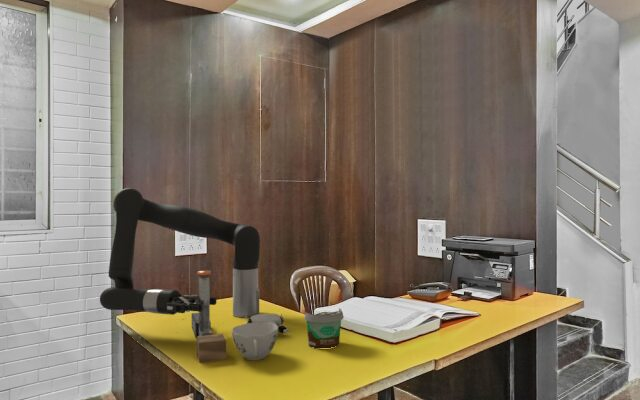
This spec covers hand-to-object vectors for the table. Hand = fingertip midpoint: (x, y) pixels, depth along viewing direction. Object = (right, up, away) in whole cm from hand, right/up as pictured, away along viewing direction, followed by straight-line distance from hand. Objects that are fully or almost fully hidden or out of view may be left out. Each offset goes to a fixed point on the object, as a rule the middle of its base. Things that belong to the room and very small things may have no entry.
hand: (209, 304), depth 139 cm
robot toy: (+17, -11, +9) cm, 22 cm away
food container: (+36, -11, -6) cm, 38 cm away
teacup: (+16, -11, -15) cm, 25 cm away
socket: (+4, -11, -14) cm, 19 cm away
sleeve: (-5, -11, +9) cm, 15 cm away
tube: (-3, -10, +5) cm, 12 cm away
